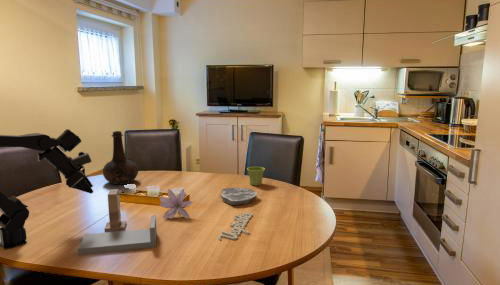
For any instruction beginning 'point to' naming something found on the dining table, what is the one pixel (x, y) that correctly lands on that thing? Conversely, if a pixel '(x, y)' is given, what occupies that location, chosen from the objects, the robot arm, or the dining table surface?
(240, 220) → the decorative sign
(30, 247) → the dining table surface
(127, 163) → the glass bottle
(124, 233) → the grey l-shaped bracket
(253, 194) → the brain slice
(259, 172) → the plant pot
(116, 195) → the brown upright panelled block
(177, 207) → the water lily
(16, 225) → the robot arm
